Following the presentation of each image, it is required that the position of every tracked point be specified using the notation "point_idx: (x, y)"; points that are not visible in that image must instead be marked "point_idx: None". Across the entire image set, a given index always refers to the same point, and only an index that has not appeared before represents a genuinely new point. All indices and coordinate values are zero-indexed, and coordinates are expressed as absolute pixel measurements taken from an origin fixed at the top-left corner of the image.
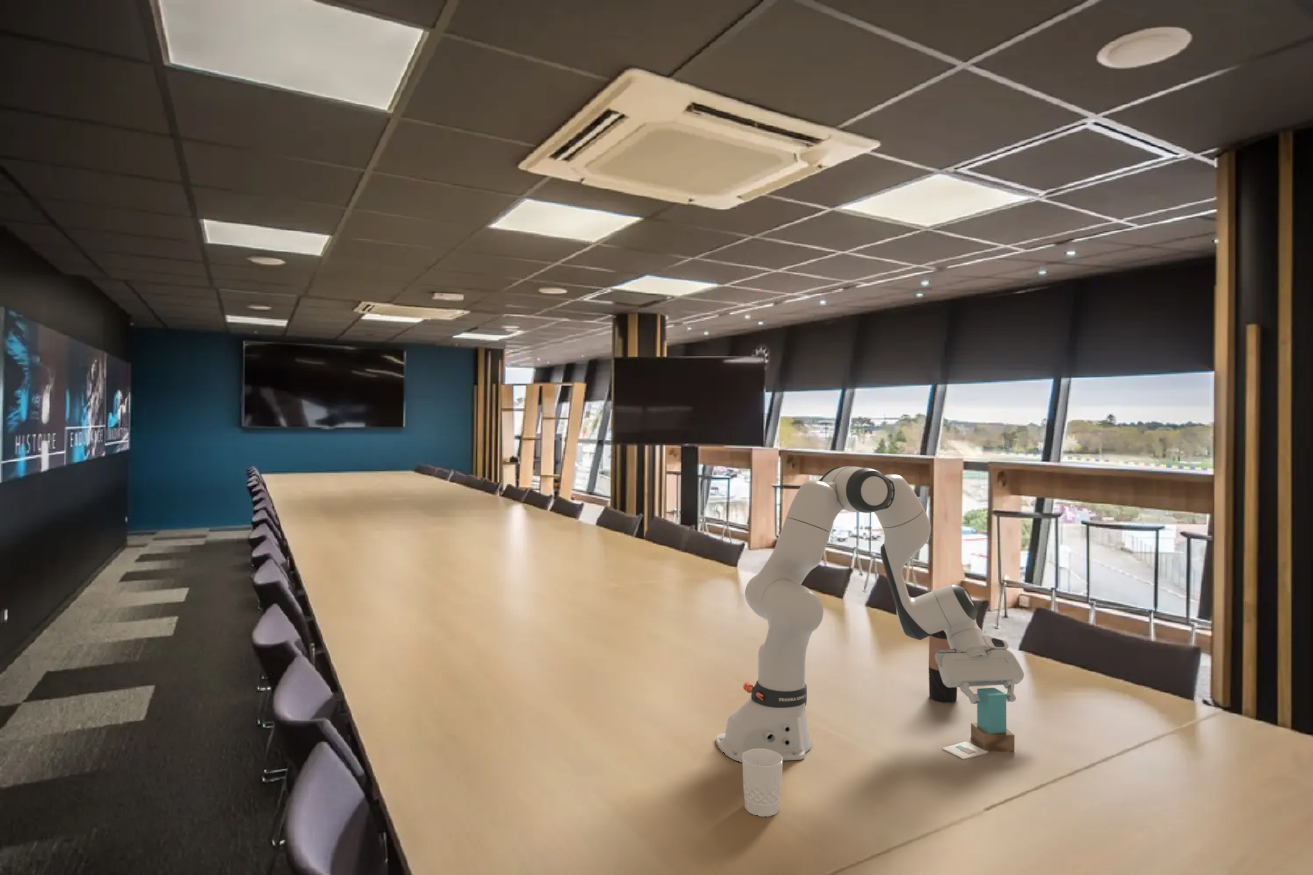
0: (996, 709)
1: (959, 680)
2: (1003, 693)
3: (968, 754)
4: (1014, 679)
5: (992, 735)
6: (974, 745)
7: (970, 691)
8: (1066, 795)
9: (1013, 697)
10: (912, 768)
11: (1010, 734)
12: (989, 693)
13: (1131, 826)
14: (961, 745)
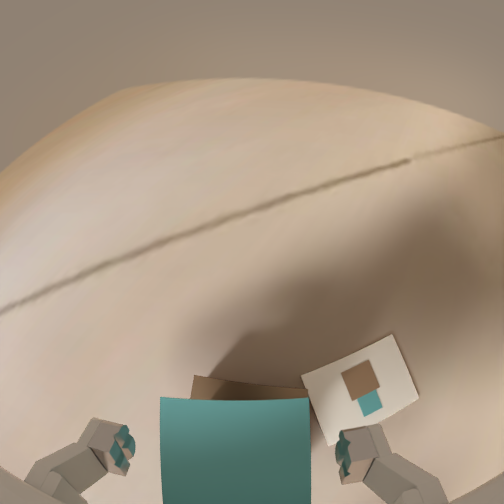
0: (248, 400)
1: (488, 484)
2: (168, 416)
3: (369, 358)
4: (11, 473)
5: (278, 387)
6: (318, 418)
7: (399, 463)
8: (245, 173)
9: (103, 422)
10: (493, 292)
11: (205, 382)
12: (277, 436)
13: (217, 114)
14: (359, 418)
